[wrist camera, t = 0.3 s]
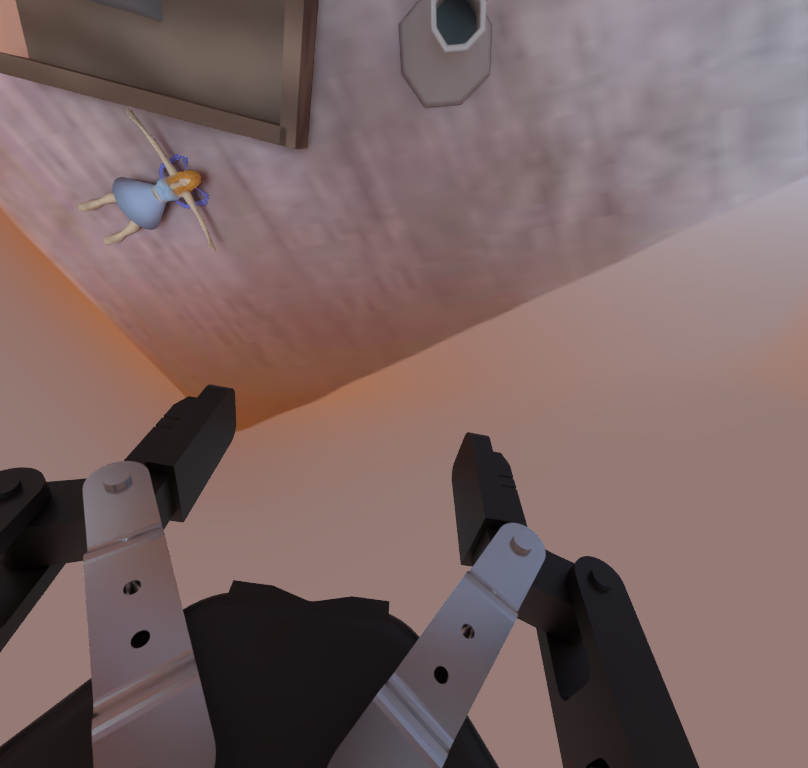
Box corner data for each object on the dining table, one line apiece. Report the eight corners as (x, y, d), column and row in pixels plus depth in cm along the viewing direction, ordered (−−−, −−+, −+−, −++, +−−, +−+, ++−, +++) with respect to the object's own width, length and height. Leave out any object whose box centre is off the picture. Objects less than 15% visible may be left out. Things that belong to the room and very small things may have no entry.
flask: (418, 125, 32) (420, 120, 23) (382, 16, 28) (370, -37, 20) (503, 83, 30) (538, 61, 22) (477, -39, 27) (507, -121, 18)
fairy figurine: (23, 159, 31) (129, 93, 27) (73, 154, 35) (171, 96, 31) (124, 290, 36) (223, 249, 33) (157, 273, 40) (248, 235, 37)
